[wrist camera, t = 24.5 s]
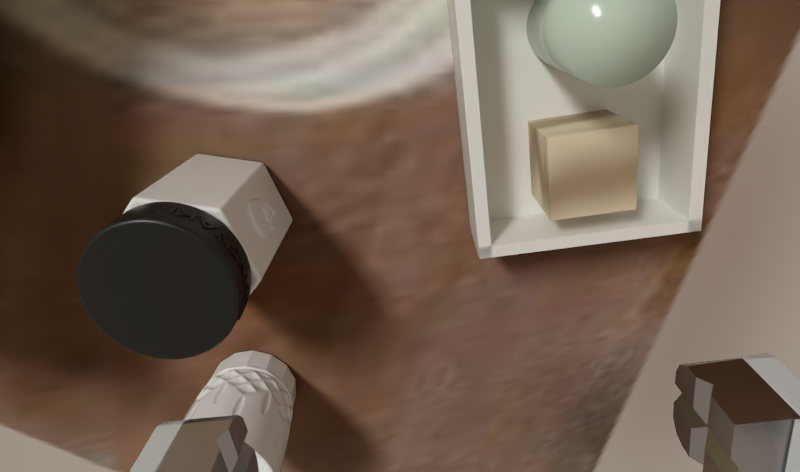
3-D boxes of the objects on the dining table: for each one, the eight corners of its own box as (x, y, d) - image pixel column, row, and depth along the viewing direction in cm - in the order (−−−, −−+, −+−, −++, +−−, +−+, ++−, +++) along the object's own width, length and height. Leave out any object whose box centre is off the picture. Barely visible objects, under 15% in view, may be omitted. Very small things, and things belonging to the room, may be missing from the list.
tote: (442, -46, 31) (449, -56, 26) (679, -85, 30) (729, -103, 25) (470, 228, 38) (479, 259, 33) (664, 203, 37) (701, 230, 32)
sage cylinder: (510, 14, 31) (539, 16, 23) (585, -42, 30) (645, -62, 22) (553, 84, 33) (595, 109, 25) (626, 33, 32) (697, 42, 23)
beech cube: (527, 120, 34) (547, 138, 29) (606, 109, 34) (638, 124, 29) (531, 193, 36) (550, 220, 31) (606, 183, 35) (636, 209, 31)
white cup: (260, 326, 41) (218, 417, 32) (323, 392, 44) (302, 494, 34) (187, 374, 43) (128, 473, 34) (252, 435, 45) (213, 542, 36)
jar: (310, 244, 38) (272, 338, 27) (212, 281, 40) (138, 385, 28) (251, 130, 35) (181, 184, 24) (146, 174, 36) (34, 245, 25)
